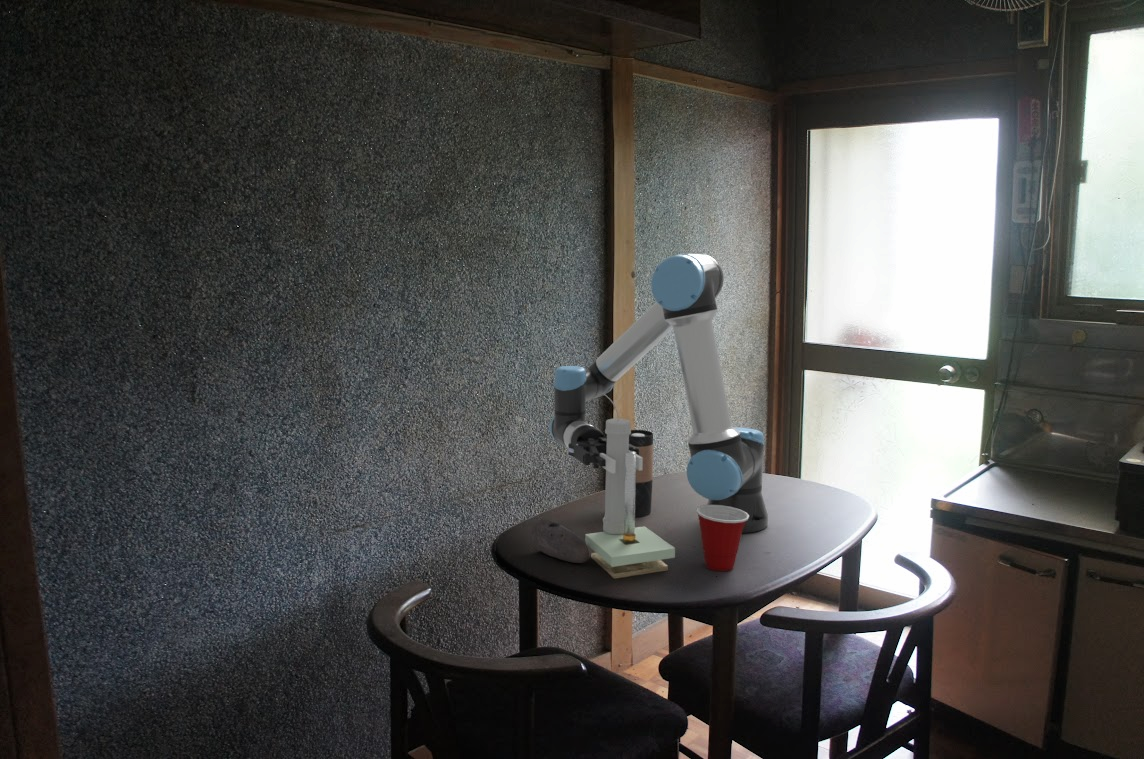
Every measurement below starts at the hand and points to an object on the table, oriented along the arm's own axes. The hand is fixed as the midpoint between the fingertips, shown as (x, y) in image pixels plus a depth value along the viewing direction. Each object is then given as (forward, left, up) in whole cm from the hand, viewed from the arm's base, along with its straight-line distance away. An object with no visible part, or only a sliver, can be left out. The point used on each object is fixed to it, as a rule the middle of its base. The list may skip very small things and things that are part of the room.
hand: (627, 465), depth 176 cm
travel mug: (0, -33, -21) cm, 39 cm away
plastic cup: (-20, -1, -21) cm, 29 cm away
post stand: (-1, +1, -21) cm, 21 cm away
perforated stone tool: (+14, 0, -21) cm, 25 cm away
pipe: (+3, -5, -16) cm, 17 cm away
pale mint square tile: (-1, +1, -18) cm, 18 cm away
